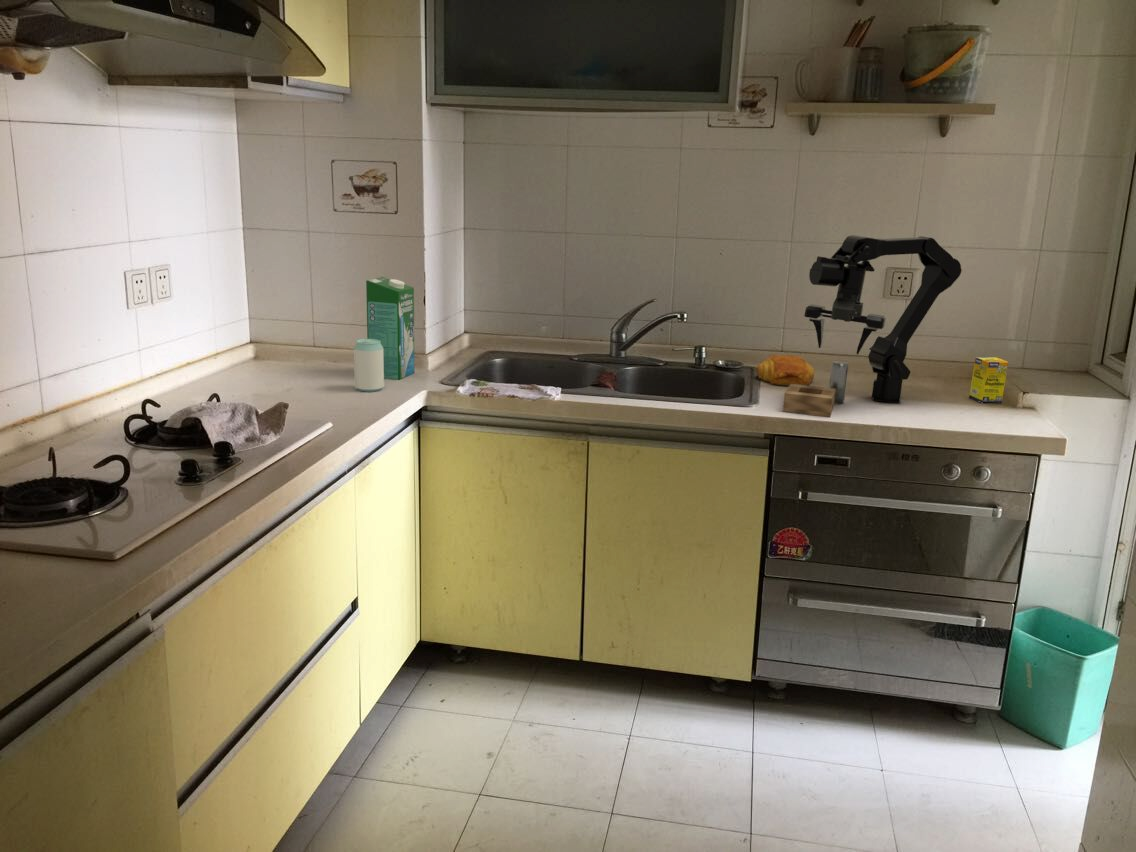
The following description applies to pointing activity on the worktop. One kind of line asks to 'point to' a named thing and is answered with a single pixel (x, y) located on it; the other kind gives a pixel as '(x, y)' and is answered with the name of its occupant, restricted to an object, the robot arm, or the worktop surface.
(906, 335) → the robot arm
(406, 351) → the milk carton
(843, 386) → the pin
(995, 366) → the supplement box
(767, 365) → the croissant
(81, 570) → the worktop surface
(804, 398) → the bore block
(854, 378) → the worktop surface
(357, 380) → the can
